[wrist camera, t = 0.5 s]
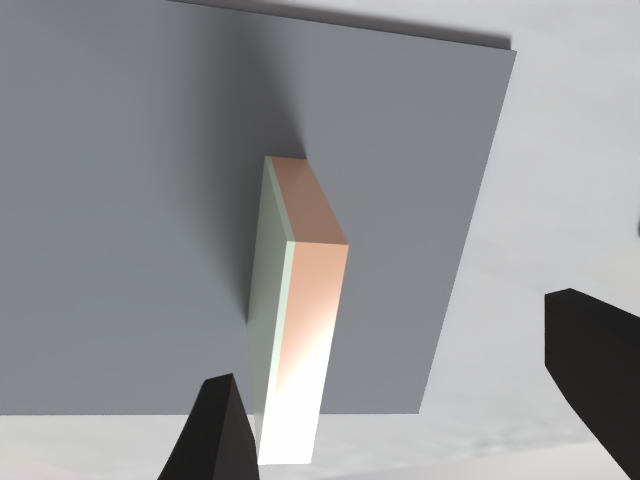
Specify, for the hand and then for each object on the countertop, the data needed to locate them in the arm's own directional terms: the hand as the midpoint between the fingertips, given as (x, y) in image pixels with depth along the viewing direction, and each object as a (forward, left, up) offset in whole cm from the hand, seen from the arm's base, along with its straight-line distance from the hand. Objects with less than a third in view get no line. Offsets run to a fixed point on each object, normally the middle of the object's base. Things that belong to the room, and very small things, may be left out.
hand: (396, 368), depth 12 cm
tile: (+2, +2, -9) cm, 9 cm away
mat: (+3, +2, -9) cm, 10 cm away
